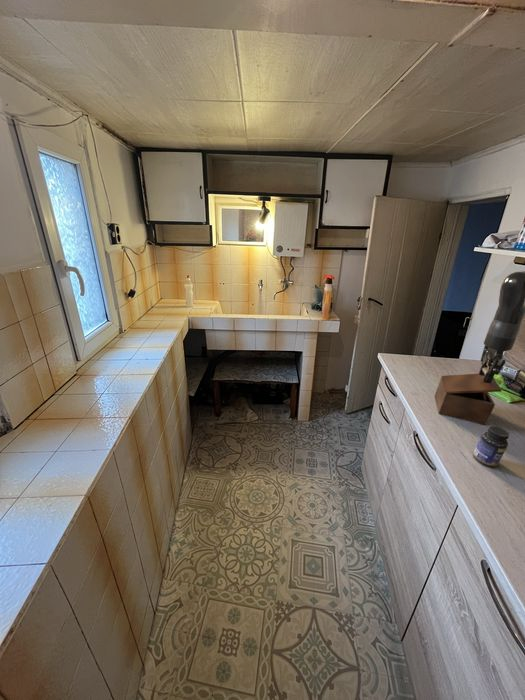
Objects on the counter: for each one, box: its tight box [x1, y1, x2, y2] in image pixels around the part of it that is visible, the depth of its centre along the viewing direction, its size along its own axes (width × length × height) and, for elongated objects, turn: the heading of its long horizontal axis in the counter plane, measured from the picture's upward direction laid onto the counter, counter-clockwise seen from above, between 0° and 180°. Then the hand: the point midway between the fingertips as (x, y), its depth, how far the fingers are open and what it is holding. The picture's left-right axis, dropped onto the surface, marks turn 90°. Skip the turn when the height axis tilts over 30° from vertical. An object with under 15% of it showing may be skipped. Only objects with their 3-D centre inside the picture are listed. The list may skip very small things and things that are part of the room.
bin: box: [434, 377, 496, 426], centre depth 105 cm, size 15×13×9 cm
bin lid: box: [440, 367, 502, 394], centre depth 101 cm, size 15×13×5 cm
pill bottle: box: [472, 425, 510, 468], centre depth 81 cm, size 6×6×11 cm
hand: (484, 378), depth 99 cm, fingers closed on bin lid, 5 cm apart
